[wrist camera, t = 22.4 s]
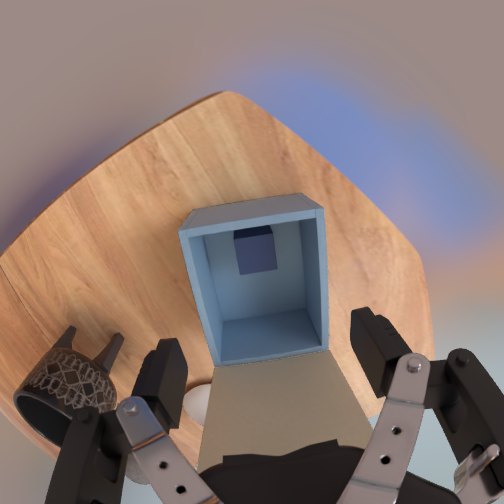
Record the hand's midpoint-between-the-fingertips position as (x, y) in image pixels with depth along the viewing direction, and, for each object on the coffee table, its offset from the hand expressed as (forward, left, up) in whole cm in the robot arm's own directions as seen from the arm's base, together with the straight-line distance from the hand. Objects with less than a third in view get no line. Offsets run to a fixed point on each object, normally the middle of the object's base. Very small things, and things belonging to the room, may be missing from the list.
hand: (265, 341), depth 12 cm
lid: (+8, +7, -4) cm, 12 cm away
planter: (+29, -10, -22) cm, 38 cm away
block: (+2, +2, -21) cm, 21 cm away
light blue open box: (+4, +4, -22) cm, 22 cm away
